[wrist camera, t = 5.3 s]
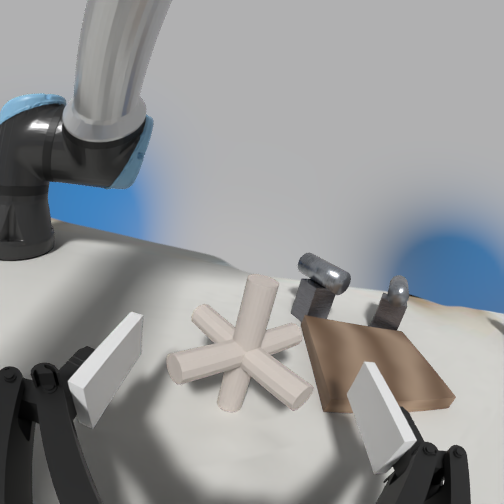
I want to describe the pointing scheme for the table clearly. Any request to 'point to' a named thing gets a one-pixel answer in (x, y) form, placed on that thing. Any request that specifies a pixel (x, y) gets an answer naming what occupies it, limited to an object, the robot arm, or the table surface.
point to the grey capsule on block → (318, 287)
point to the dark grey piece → (392, 305)
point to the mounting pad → (370, 350)
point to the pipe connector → (243, 350)
